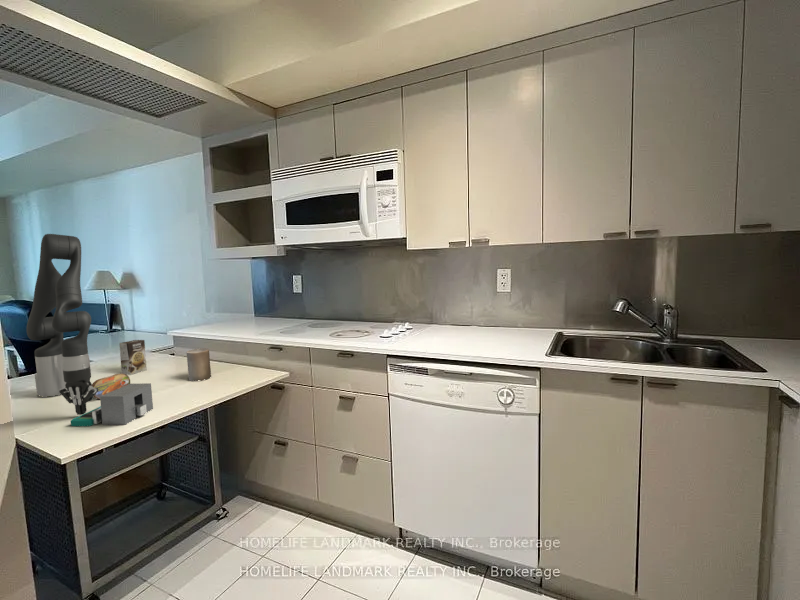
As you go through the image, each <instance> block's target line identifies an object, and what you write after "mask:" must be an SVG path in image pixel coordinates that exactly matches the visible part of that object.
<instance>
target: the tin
mask: <svg viewBox="0 0 800 600" xmlns="http://www.w3.org/2000/svg"><path fill="white" fill-rule="evenodd" d="M91 384H92V385H91V386H92V387H94V388H98V391H97V393H96V394H95V396H94V397H93V399H98V400H100V396H102V395H105V394H107V393H109V392H112V391H114V390H116V389H119V388H121V387H123V386H126V385H128V384H131V378H130V375H127V374H122V373H114V374H111V375H107V376H106V377H105V376H104V377H102V378H98V379H95V381H93V382H92V383H91Z"/></svg>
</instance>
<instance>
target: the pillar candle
mask: <svg viewBox="0 0 800 600" xmlns="http://www.w3.org/2000/svg"><path fill="white" fill-rule="evenodd" d="M185 353H186V360H187V361H186V362H187V373H188V380H189V381H190V382H199V381H198V380H201V381H205V380H204V379H206V380H209V379H211V378H212V371H211V369H212V368H211V357H210V355H211V354H210V349H209V348H205V347H204V348H203V347H202V348H194V349H193V348H192V349H190V350H187V351H186V352H185ZM210 377H211V378H210ZM208 378H209V379H208Z"/></svg>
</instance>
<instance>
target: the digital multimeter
mask: <svg viewBox="0 0 800 600" xmlns="http://www.w3.org/2000/svg"><path fill="white" fill-rule="evenodd" d="M99 408H101V405H100V406H98V407H96V408H94V409H92V410H89V411H86V413H84V414H82V415H77V416H76V417H73V418H72V419H71V420H70V426H71V427H91V426H94V425H95V424H93V417H92V411H95V410H97V409H99Z"/></svg>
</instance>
